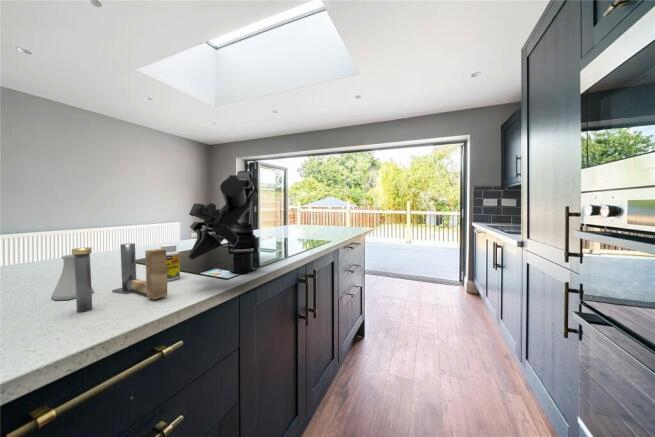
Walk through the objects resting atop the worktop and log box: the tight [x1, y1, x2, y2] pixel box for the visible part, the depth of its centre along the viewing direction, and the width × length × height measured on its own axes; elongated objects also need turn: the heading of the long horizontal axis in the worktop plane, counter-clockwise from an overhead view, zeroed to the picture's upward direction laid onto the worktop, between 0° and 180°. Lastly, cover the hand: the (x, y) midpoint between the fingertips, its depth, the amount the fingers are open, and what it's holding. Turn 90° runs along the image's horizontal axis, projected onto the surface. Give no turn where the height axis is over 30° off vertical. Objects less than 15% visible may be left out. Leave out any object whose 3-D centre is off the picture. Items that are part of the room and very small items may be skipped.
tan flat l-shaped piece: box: [131, 248, 169, 300], centre depth 63 cm, size 12×3×11 cm, turn 61°
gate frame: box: [71, 242, 139, 313], centre depth 61 cm, size 16×8×13 cm, turn 163°
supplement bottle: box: [160, 243, 181, 282], centre depth 77 cm, size 6×6×10 cm
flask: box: [50, 254, 95, 301], centre depth 63 cm, size 7×7×10 cm
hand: (190, 258), depth 65 cm, fingers closed
